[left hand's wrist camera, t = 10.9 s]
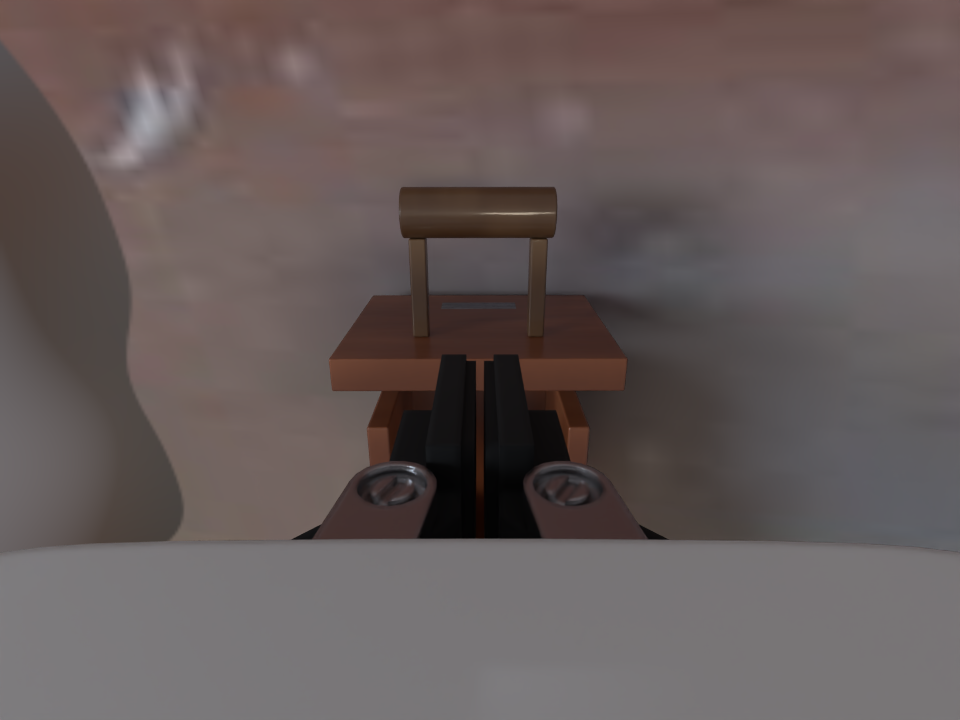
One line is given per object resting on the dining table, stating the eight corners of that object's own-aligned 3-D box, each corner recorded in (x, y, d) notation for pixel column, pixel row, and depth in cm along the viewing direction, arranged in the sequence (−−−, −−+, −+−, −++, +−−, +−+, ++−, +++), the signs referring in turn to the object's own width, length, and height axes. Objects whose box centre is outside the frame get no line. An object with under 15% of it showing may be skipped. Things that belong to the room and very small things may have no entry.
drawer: (364, 177, 25) (310, 193, 17) (592, 177, 25) (645, 193, 17) (396, 612, 34) (371, 753, 26) (562, 611, 34) (587, 753, 26)
